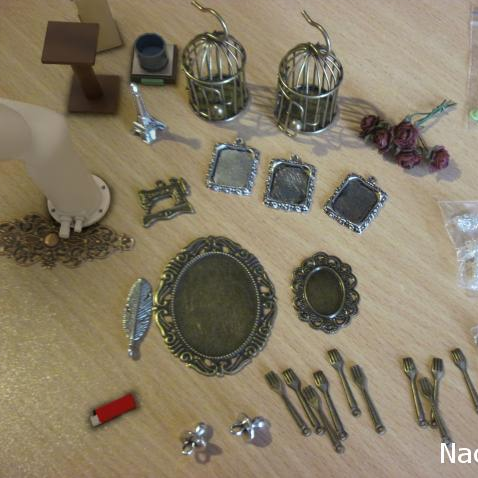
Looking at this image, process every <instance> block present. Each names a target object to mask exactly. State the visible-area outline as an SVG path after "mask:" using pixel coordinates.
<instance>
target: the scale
mask: <svg viewBox="0 0 478 478" xmlns="http://www.w3.org/2000/svg"><path fill="white" fill-rule="evenodd" d="M166 46H167V50H168V61H167V62H166V64H165V65H164V66H163V67H162V68H160V69H156V70H150V69H146V68H144V67H143V66H142V65H140V63H139V61H138V60H137V57H136V54H135V50H134V45H133V46H132V47H133V48H132V55H131V56H132V57H131V63H130V66H131V67H130V73H129V74H130V75H129V78H130V81H131V83H141V85H149V86H164V85H165V84H168V85H169V84H170V85H171V84H172V85H175V84H176V76H177V61H178V45H177V44H174V43H166ZM133 81H134V82H133Z"/></svg>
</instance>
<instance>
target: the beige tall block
mask: <svg viewBox="0 0 478 478" xmlns="http://www.w3.org/2000/svg"><path fill="white" fill-rule="evenodd" d="M69 1H70V2H74V5H75V7H76V9H77V11H76V15H77V17H78V20H79V22H82V23H99V25H100V30H99V37H98V44H97V52H96V53H99V52H102V51H106V50H110V49H114V48H117V47H120V46H122V45H123V44H122V40H121V37H120V34H119V31H118V28H117V26H116V22H115V20H114V19H115V18H114V16H113V14H112V11H111V8H110V5H109V2H108V0H69Z"/></svg>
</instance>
